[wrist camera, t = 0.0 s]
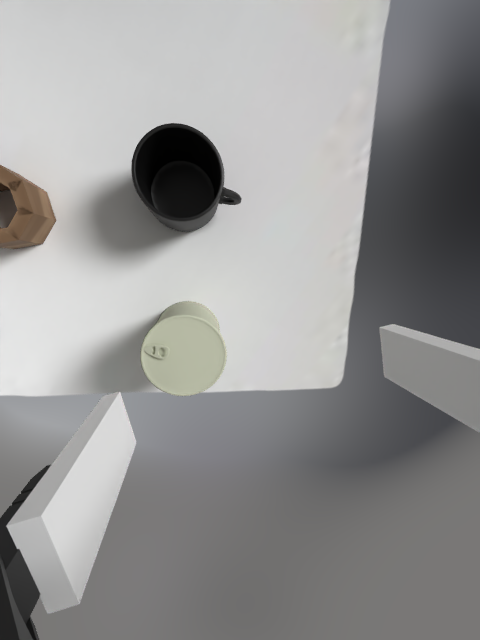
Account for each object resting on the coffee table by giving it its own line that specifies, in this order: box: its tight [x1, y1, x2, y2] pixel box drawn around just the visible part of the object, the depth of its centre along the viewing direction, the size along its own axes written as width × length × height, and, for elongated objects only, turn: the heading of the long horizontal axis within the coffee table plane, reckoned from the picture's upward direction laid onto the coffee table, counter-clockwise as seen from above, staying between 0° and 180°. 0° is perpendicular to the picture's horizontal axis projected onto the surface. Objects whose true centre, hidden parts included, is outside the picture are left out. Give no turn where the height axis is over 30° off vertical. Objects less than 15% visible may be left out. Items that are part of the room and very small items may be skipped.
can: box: [140, 301, 227, 396], centre depth 35 cm, size 9×9×12 cm
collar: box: [0, 165, 56, 249], centre depth 32 cm, size 8×8×5 cm
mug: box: [132, 123, 241, 232], centre depth 33 cm, size 9×12×9 cm
